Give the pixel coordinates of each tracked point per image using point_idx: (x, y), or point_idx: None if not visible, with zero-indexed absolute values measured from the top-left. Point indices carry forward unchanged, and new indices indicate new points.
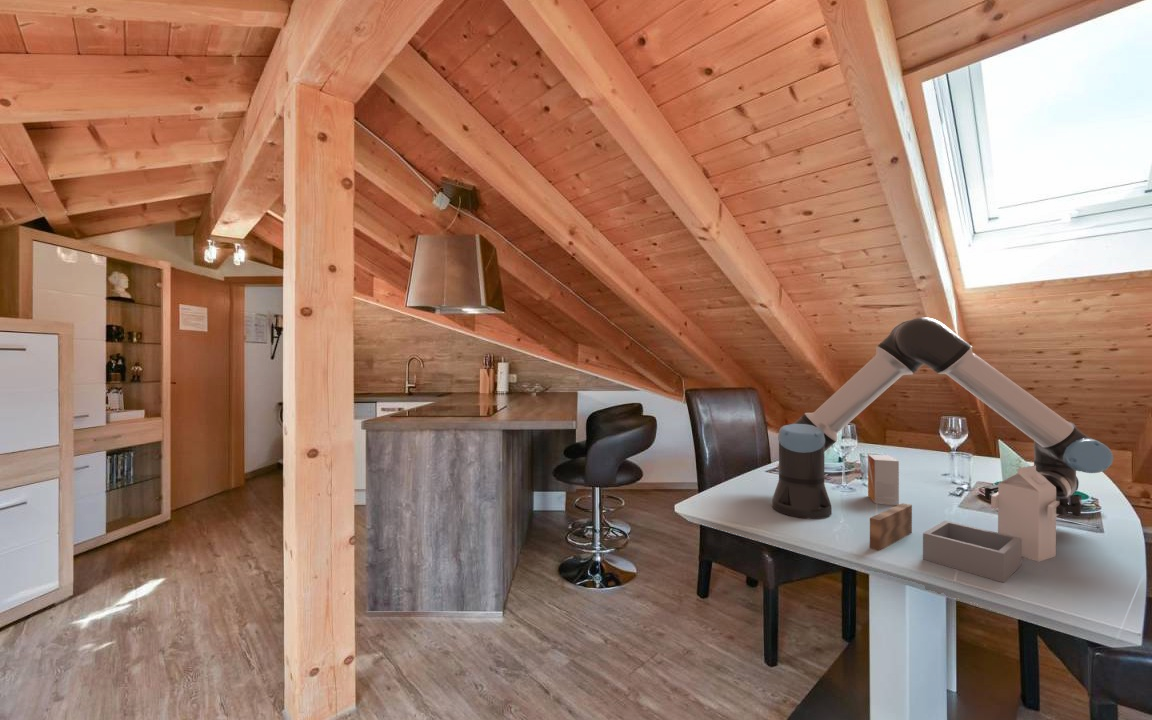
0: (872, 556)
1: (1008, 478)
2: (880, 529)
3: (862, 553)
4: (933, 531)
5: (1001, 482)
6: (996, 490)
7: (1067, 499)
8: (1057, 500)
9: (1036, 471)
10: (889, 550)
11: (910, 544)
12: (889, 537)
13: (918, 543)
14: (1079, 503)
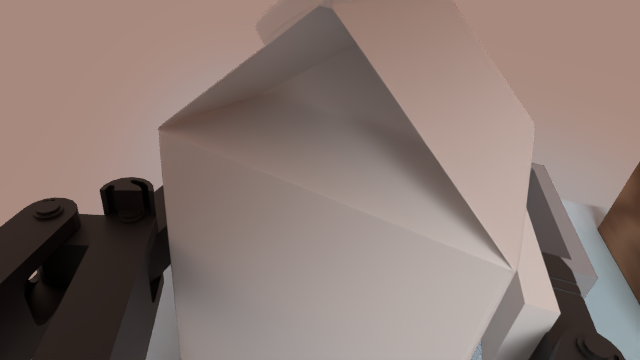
0: (583, 206)
1: (487, 59)
2: (628, 185)
3: (605, 211)
4: (539, 180)
5: (521, 115)
6: (593, 337)
7: (112, 182)
8: (143, 258)
9: (315, 12)
10: (596, 245)
11: (610, 309)
12: (633, 248)
13: (607, 331)
14: (13, 222)
